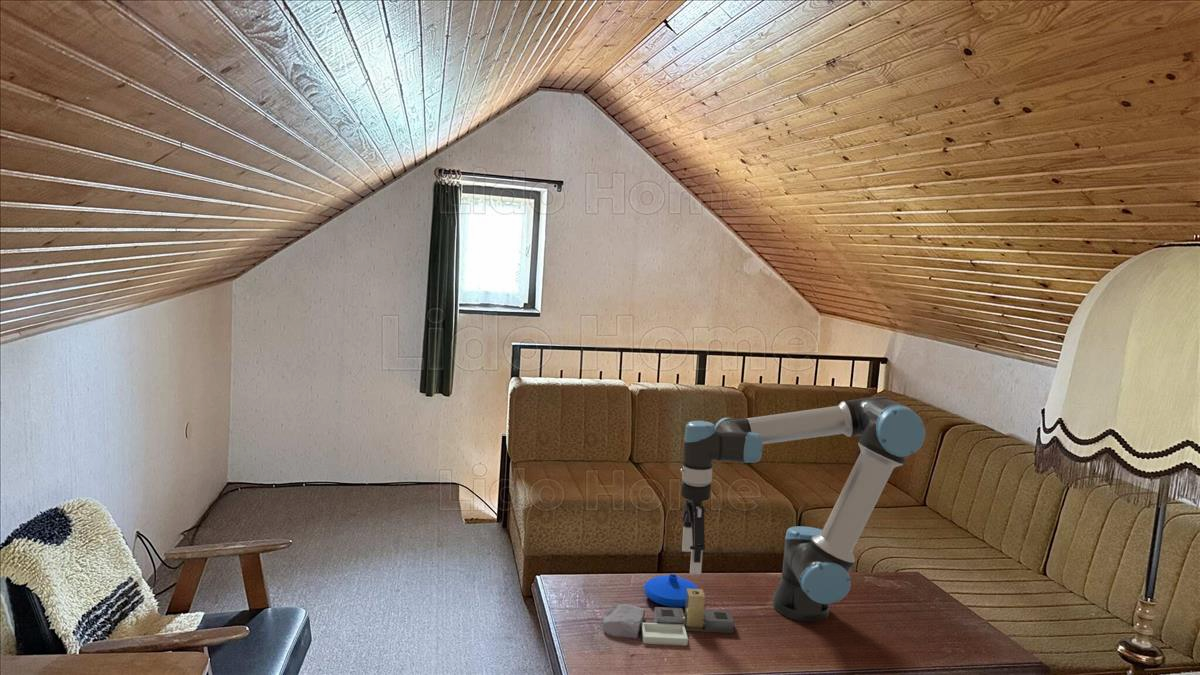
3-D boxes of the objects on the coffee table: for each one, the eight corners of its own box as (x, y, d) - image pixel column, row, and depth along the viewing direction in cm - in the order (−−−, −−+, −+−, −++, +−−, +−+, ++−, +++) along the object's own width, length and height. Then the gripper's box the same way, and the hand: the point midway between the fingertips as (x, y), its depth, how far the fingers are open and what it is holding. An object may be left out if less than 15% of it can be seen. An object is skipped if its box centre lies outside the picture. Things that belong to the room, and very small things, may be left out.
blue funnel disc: (661, 581, 213) (663, 559, 213) (709, 599, 204) (711, 575, 203) (632, 600, 201) (634, 576, 200) (681, 620, 191) (683, 594, 191)
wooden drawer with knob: (699, 621, 191) (702, 589, 190) (702, 629, 187) (705, 596, 186) (683, 620, 191) (686, 588, 190) (686, 629, 187) (688, 595, 186)
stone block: (601, 641, 182) (640, 640, 180) (599, 622, 182) (638, 621, 179) (610, 620, 193) (647, 619, 191) (608, 603, 193) (644, 601, 191)
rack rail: (728, 621, 192) (729, 610, 192) (733, 633, 186) (734, 621, 186) (653, 617, 191) (654, 606, 191) (656, 629, 186) (657, 618, 185)
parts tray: (683, 631, 186) (683, 624, 185) (687, 645, 179) (687, 638, 178) (640, 629, 185) (641, 622, 185) (643, 643, 178) (643, 636, 178)
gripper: (675, 467, 196) (670, 542, 199) (689, 497, 172) (683, 583, 174) (702, 468, 197) (697, 543, 199) (720, 499, 172) (714, 584, 174)
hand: (691, 561), depth 187 cm, fingers open, 13 cm apart
